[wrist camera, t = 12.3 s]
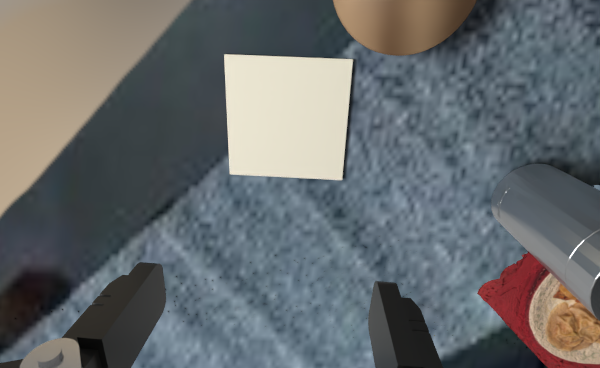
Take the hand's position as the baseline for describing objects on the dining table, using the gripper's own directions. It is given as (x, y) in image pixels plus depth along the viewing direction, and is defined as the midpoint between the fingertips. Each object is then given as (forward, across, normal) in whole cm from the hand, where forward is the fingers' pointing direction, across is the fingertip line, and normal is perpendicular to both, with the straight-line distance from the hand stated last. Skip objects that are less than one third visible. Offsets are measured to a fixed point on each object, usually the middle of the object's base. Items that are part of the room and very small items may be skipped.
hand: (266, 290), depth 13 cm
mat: (+32, +2, 0) cm, 32 cm away
